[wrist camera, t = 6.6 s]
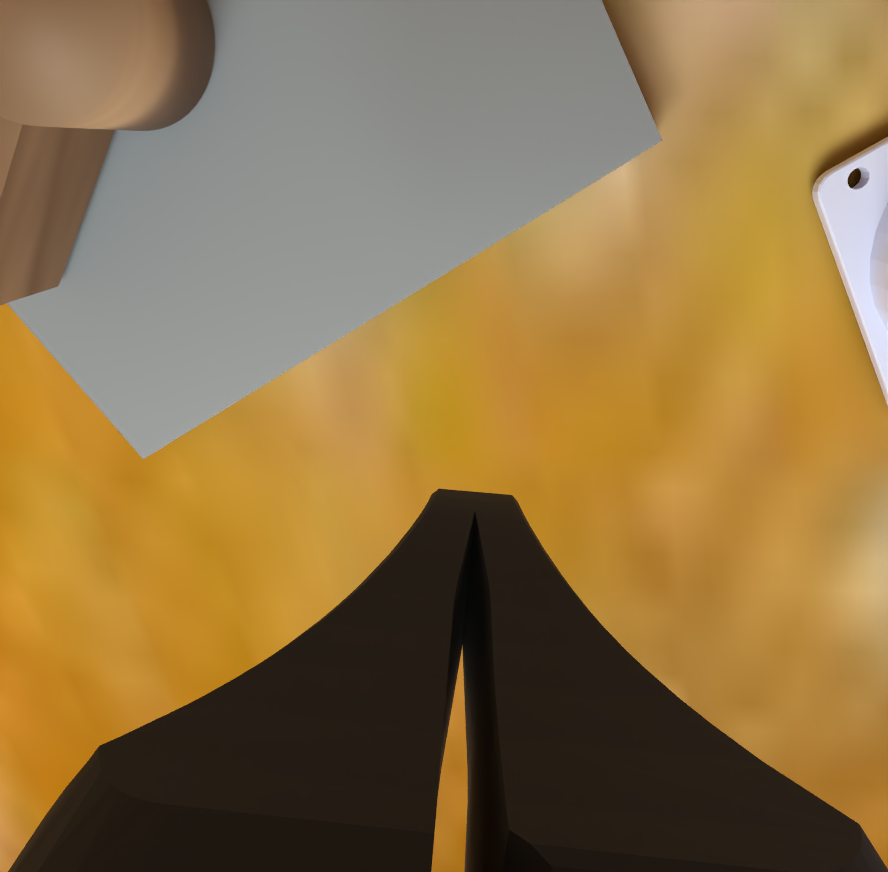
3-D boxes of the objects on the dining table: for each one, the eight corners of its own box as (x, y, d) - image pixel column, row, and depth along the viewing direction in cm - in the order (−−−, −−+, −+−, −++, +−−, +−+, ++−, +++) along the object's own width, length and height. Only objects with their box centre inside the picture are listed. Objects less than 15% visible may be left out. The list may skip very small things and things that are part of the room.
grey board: (287, -685, 11) (266, -772, 10) (651, 140, 17) (662, 140, 15) (-249, -36, 16) (-302, -49, 15) (160, 443, 22) (143, 459, 20)
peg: (293, -124, 14) (206, -241, 10) (113, 315, 18) (1, 365, 14) (106, -266, 13) (-76, -462, 9) (-33, 229, 18) (-196, 255, 13)
